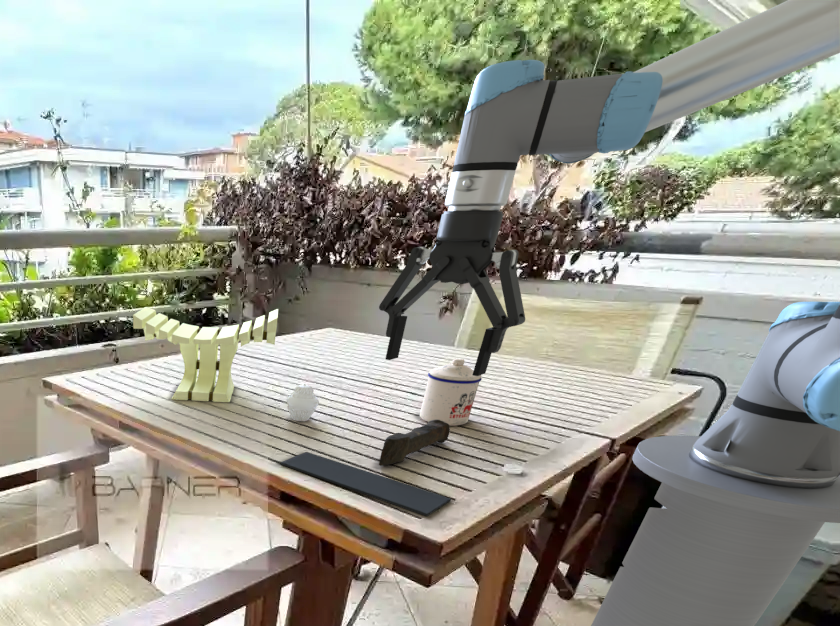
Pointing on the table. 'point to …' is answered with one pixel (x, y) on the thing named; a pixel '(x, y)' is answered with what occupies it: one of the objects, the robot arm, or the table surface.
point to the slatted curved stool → (205, 351)
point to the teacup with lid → (450, 393)
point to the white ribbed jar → (302, 403)
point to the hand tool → (413, 441)
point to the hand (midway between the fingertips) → (432, 366)
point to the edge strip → (368, 483)
